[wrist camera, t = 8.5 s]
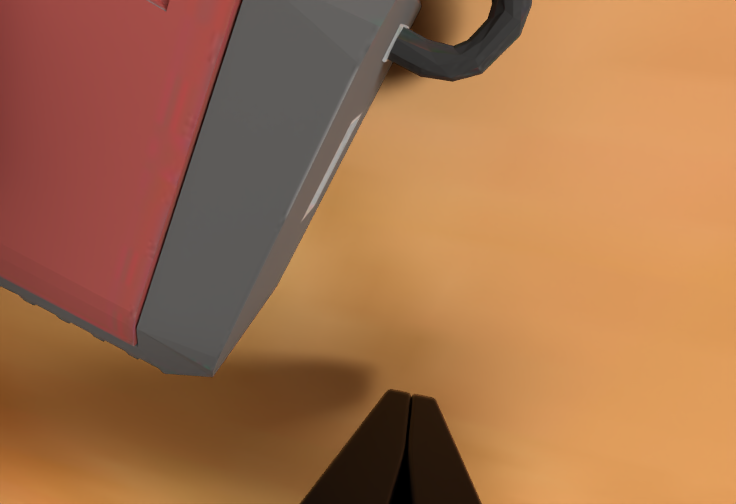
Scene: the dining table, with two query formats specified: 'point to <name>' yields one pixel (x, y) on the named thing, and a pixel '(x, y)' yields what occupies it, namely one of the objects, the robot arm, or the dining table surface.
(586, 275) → the dining table surface
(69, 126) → the walkie-talkie
